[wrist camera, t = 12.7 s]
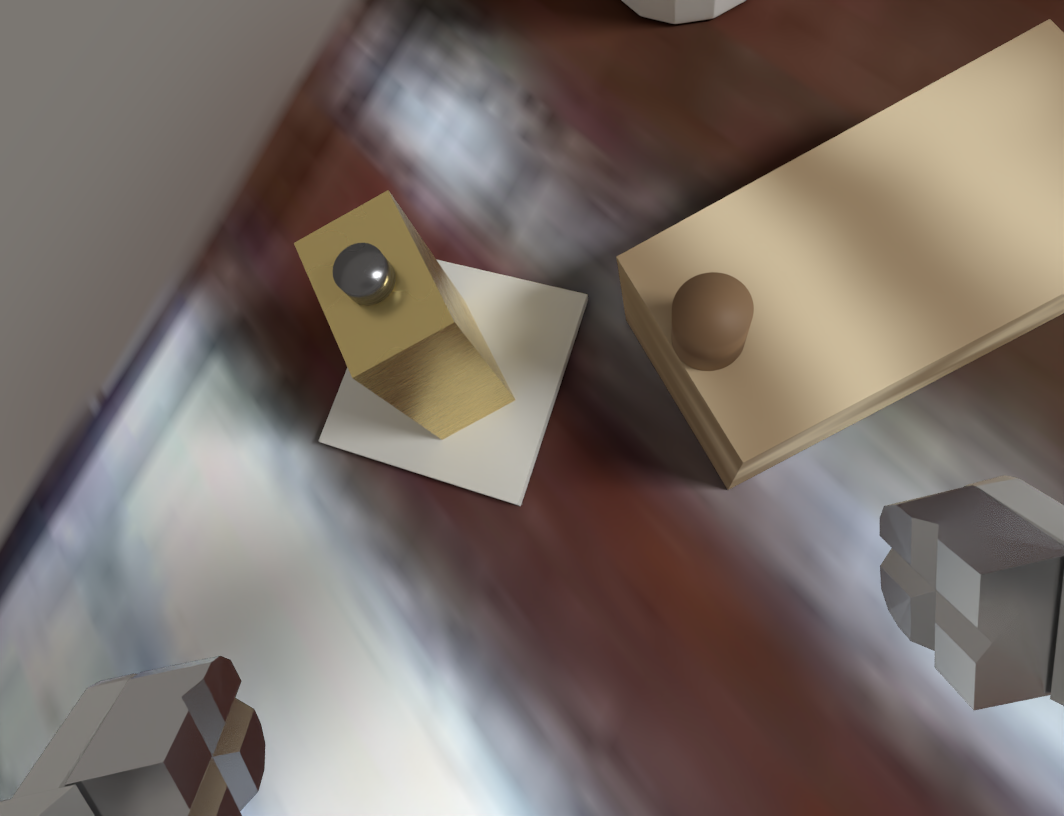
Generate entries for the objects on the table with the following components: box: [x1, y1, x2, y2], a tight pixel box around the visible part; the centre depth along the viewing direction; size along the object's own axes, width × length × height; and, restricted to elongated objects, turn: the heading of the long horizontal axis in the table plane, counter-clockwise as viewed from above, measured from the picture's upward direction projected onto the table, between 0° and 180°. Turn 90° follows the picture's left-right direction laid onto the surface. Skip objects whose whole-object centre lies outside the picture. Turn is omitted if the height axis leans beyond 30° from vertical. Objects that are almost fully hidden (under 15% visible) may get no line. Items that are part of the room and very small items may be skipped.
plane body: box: [616, 19, 1064, 490], centre depth 21 cm, size 14×7×7 cm, turn 117°
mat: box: [319, 260, 589, 506], centre depth 26 cm, size 8×8×1 cm
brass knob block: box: [294, 191, 515, 440], centre depth 22 cm, size 3×4×8 cm, turn 27°
